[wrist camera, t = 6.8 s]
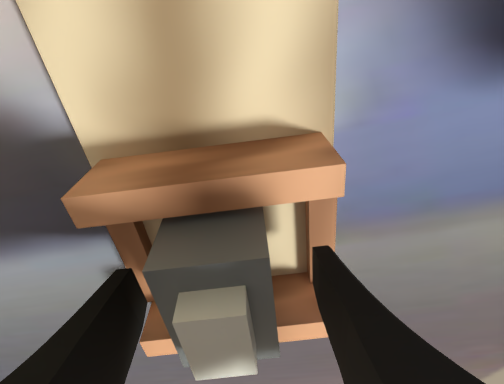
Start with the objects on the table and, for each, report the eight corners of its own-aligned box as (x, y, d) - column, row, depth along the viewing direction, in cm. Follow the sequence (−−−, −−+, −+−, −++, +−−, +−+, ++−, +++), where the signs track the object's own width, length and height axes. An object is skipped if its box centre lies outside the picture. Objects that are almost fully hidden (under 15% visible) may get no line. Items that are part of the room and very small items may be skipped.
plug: (258, 175, 12) (273, 286, 7) (267, 259, 15) (284, 387, 10) (175, 184, 12) (130, 302, 7) (199, 267, 15) (178, 398, 10)
